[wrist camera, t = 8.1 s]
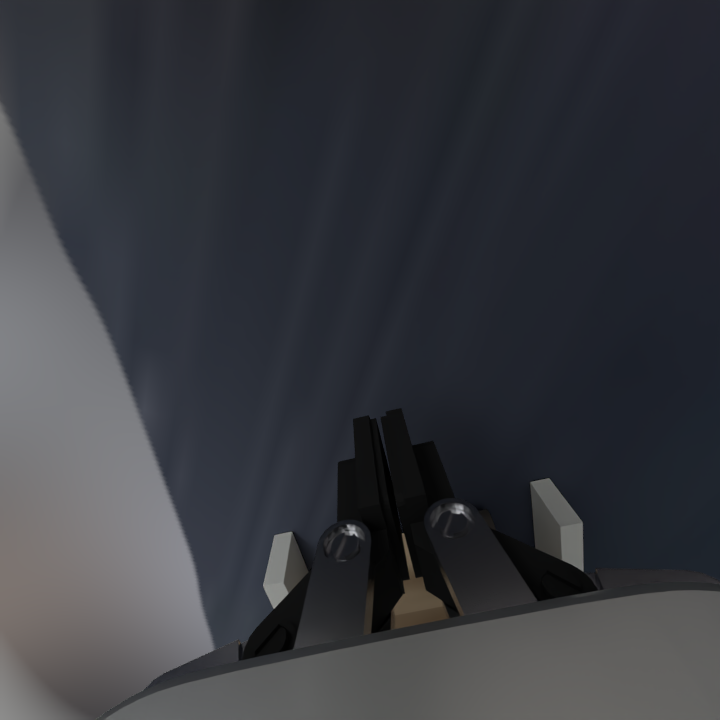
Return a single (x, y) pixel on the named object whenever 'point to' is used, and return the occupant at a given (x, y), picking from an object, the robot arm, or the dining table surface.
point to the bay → (551, 531)
